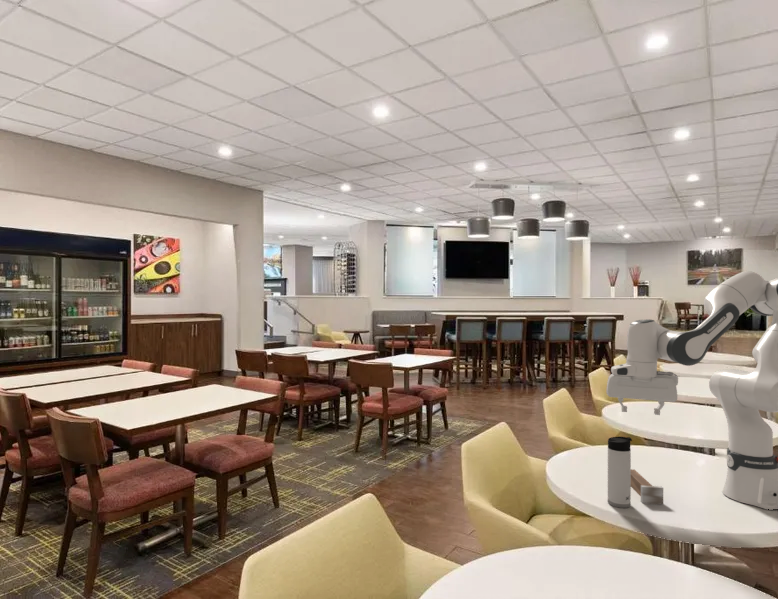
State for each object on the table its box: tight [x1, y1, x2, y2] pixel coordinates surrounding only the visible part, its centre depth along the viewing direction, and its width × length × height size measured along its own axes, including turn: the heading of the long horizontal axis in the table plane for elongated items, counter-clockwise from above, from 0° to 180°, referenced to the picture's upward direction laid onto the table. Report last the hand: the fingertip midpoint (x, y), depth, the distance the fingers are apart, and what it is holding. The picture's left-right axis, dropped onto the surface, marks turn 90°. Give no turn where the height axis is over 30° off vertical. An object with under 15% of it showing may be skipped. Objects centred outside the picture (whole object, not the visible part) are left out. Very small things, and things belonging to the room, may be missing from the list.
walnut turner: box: [631, 468, 664, 505], centre depth 156 cm, size 6×19×5 cm, turn 173°
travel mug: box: [607, 436, 633, 509], centre depth 147 cm, size 6×7×20 cm
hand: (640, 413), depth 157 cm, fingers open, 8 cm apart
